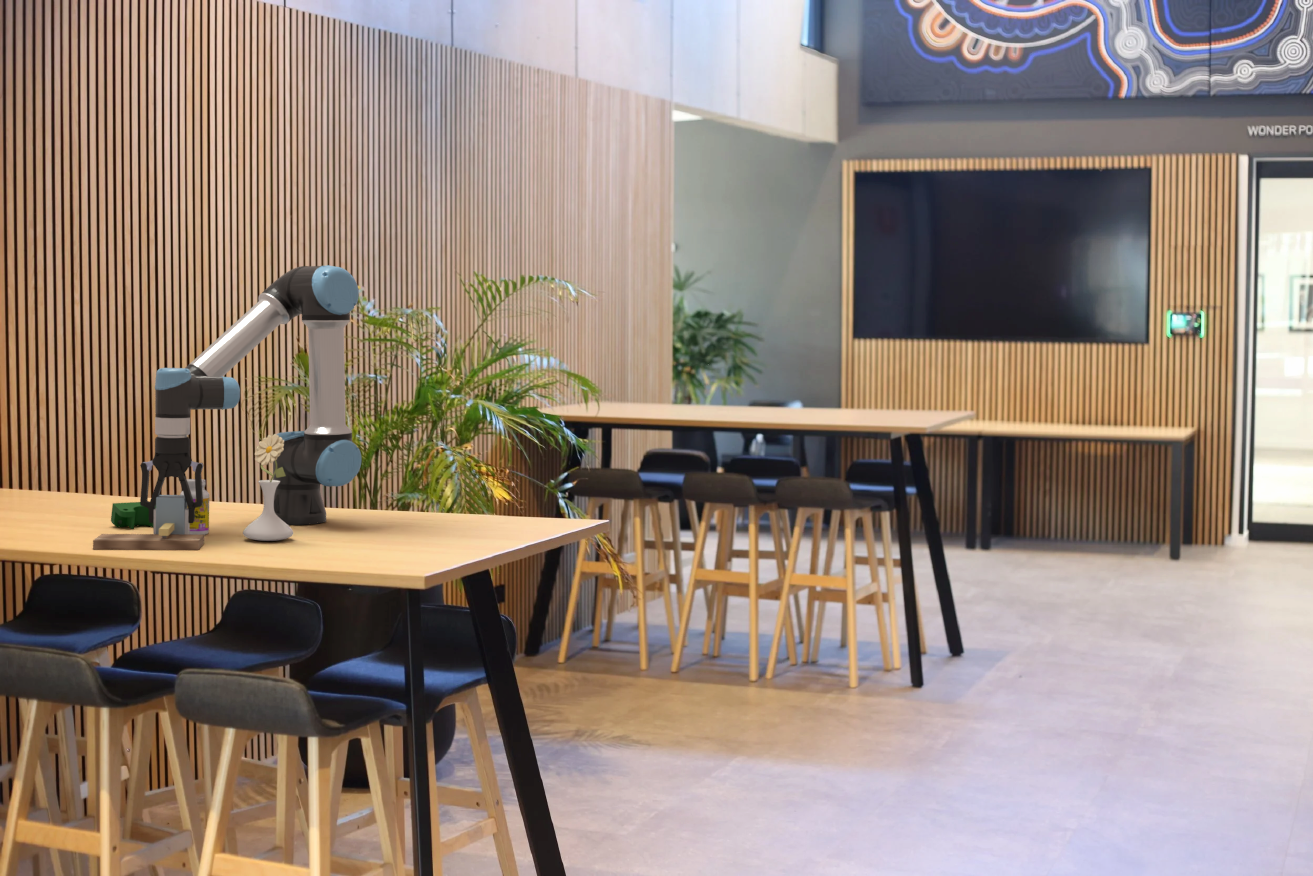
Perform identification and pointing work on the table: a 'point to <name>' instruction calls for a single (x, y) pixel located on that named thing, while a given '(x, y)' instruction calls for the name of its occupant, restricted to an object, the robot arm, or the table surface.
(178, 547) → the board
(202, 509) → the supplement bottle
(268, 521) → the flower in vase
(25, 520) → the table surface
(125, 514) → the clamp
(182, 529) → the pale blue upright panel
